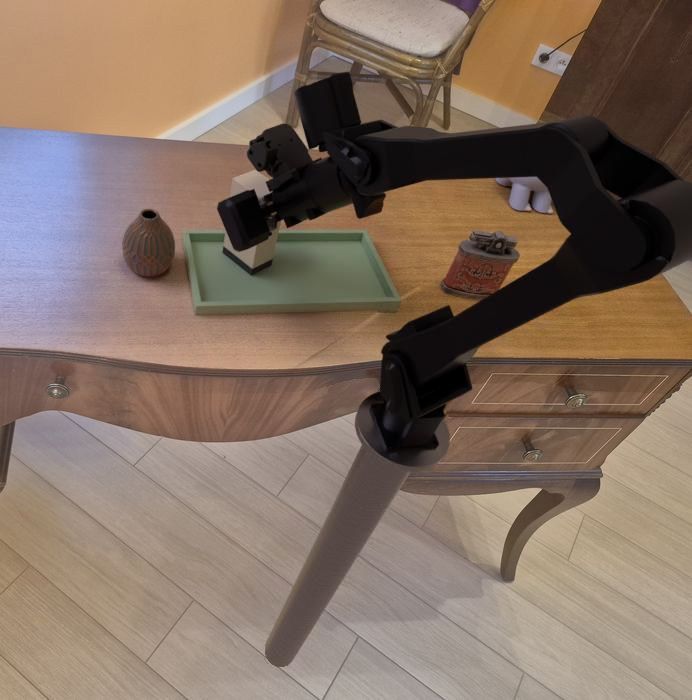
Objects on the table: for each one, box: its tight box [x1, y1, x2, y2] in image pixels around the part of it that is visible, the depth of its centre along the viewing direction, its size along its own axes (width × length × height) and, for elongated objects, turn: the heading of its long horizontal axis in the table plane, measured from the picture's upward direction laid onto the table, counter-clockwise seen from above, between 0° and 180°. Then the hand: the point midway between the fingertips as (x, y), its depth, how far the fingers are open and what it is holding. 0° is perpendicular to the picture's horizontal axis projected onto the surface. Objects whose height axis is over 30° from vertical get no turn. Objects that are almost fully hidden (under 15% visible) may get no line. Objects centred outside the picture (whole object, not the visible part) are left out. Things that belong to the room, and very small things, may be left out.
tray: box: [181, 229, 403, 316], centre depth 85 cm, size 16×28×2 cm, turn 99°
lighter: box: [439, 229, 520, 301], centre depth 84 cm, size 8×3×10 cm, turn 84°
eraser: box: [222, 169, 282, 276], centre depth 82 cm, size 6×4×12 cm, turn 42°
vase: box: [121, 208, 176, 278], centre depth 80 cm, size 7×7×9 cm
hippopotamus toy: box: [494, 177, 554, 215], centre depth 104 cm, size 11×15×10 cm
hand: (246, 217), depth 82 cm, fingers closed on eraser, 4 cm apart
